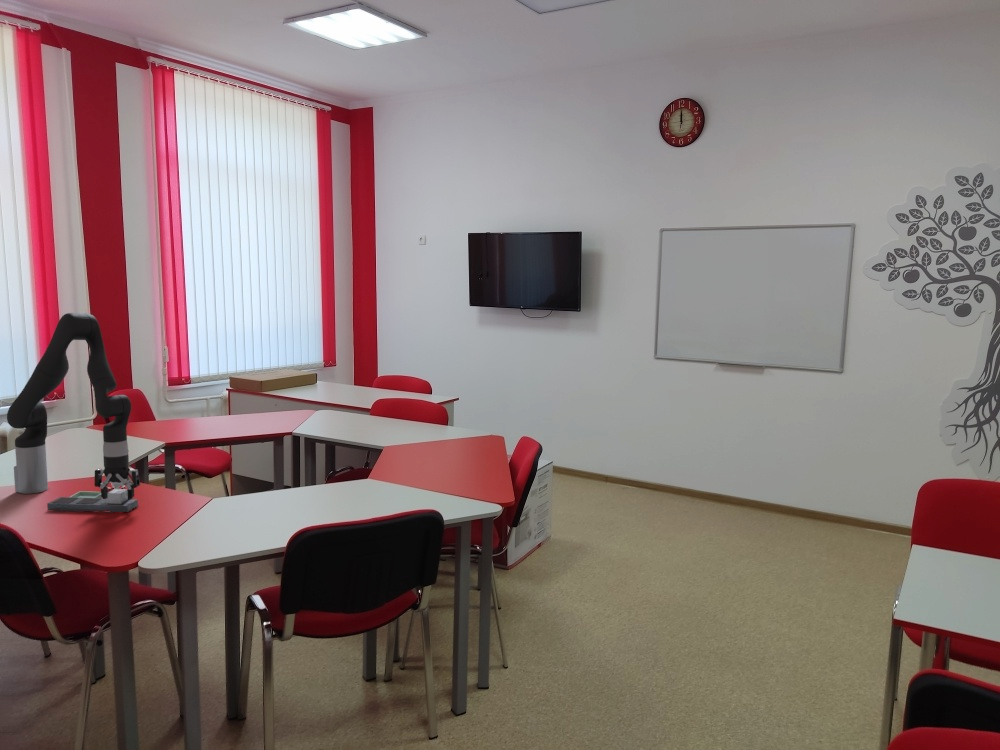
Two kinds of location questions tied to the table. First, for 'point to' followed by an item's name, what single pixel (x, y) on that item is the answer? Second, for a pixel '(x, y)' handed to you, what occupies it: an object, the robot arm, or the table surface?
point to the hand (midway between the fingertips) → (118, 498)
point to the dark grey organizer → (89, 504)
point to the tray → (87, 494)
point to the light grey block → (117, 497)
